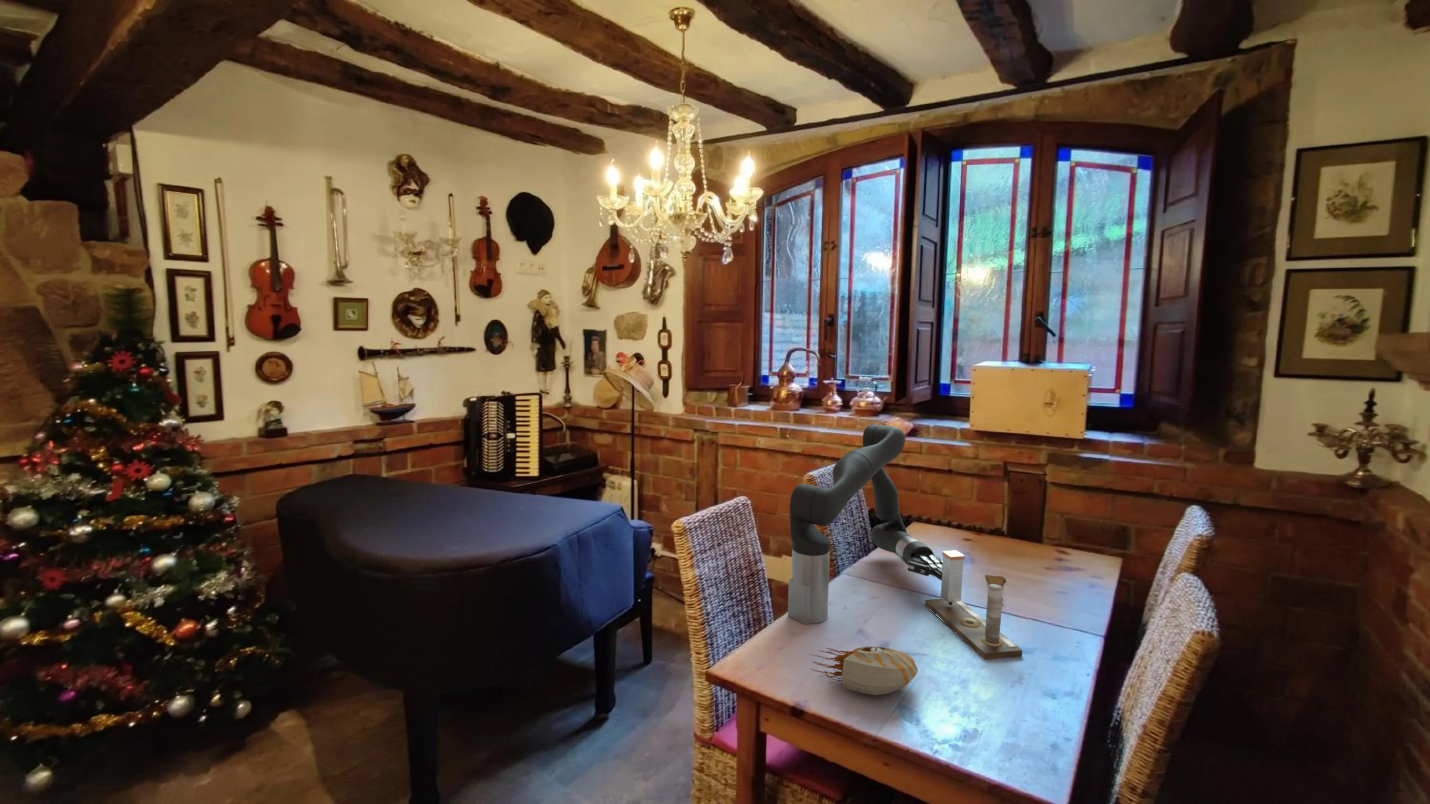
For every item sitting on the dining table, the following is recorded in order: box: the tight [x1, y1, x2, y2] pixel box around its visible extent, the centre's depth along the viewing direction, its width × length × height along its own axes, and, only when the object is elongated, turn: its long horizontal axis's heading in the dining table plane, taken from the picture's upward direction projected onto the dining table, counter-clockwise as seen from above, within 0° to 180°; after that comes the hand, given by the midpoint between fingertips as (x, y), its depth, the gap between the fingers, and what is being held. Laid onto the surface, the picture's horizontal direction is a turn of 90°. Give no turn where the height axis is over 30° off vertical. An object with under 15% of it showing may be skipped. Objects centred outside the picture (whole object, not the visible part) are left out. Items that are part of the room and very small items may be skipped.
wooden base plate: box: [924, 584, 1023, 661], centre depth 153 cm, size 27×9×14 cm, turn 10°
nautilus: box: [809, 646, 919, 696], centre depth 131 cm, size 8×22×15 cm
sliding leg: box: [940, 550, 965, 605], centre depth 162 cm, size 4×4×13 cm
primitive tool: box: [984, 574, 1007, 601], centre depth 176 cm, size 19×6×4 cm, turn 159°
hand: (946, 577), depth 164 cm, fingers closed
